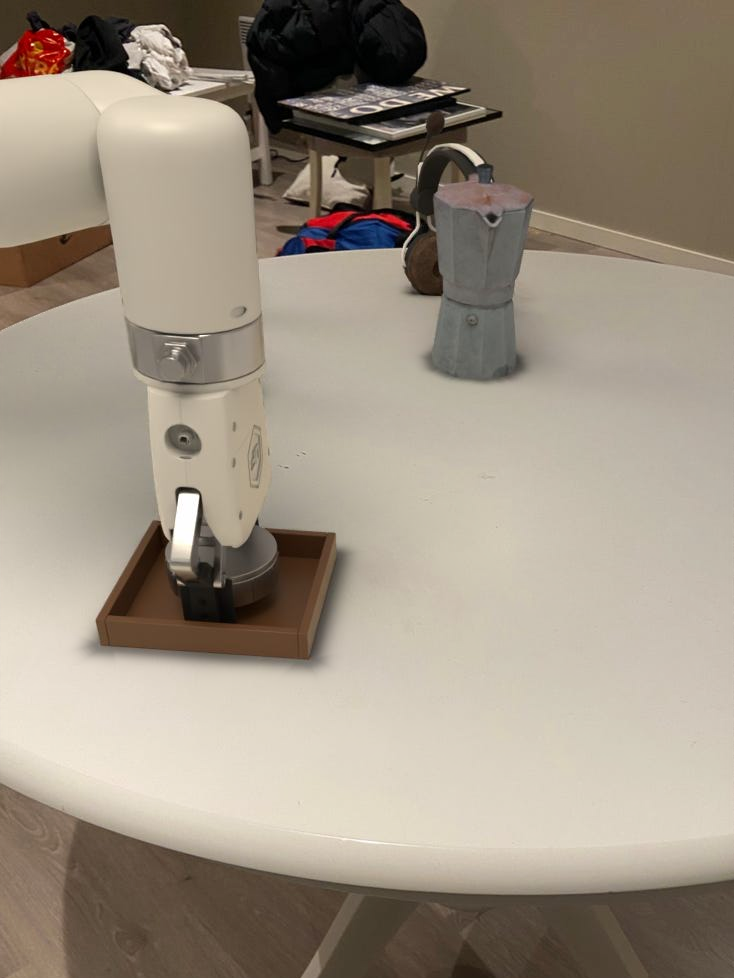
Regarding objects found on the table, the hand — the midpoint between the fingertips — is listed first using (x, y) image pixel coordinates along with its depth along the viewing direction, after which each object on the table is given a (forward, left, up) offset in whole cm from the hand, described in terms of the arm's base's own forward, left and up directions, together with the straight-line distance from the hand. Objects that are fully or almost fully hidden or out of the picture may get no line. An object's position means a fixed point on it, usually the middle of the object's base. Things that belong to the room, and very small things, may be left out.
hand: (225, 594), depth 67 cm
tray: (0, 0, -1) cm, 1 cm away
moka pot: (+15, +45, -1) cm, 47 cm away
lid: (0, 0, +3) cm, 3 cm away
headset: (+12, +63, -1) cm, 64 cm away
